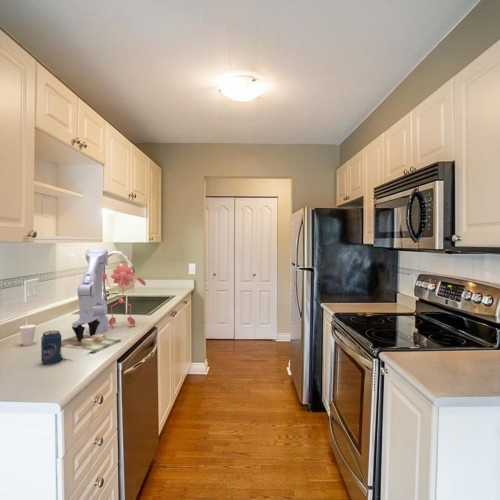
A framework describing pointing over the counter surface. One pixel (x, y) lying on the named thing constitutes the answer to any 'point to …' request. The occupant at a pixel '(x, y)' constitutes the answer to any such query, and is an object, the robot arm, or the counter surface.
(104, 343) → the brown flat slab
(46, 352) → the soda can
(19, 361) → the counter surface
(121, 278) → the figurine
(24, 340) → the smoothie
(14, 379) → the counter surface
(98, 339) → the block
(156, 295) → the counter surface
